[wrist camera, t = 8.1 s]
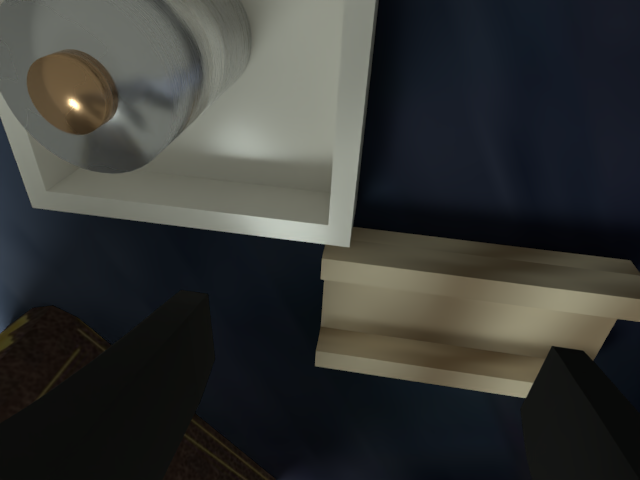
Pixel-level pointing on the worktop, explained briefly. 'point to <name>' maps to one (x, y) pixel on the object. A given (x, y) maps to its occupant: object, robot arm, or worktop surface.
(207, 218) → the dish
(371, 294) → the trough
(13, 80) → the cylinder
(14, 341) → the book
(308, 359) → the worktop surface
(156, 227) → the worktop surface
